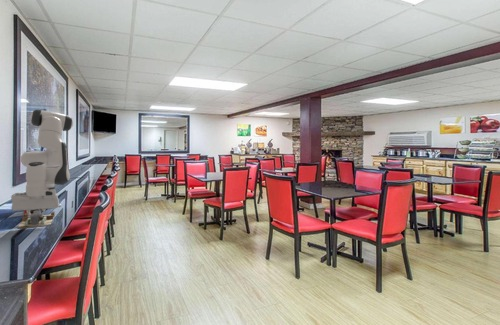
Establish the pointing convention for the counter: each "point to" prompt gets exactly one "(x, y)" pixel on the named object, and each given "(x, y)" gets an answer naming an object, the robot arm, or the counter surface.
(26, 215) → the lock board
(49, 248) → the counter surface
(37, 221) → the bar
